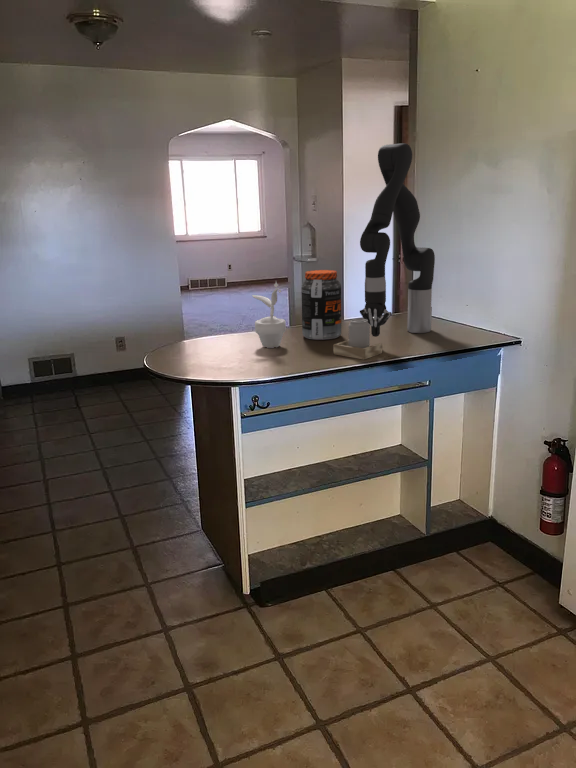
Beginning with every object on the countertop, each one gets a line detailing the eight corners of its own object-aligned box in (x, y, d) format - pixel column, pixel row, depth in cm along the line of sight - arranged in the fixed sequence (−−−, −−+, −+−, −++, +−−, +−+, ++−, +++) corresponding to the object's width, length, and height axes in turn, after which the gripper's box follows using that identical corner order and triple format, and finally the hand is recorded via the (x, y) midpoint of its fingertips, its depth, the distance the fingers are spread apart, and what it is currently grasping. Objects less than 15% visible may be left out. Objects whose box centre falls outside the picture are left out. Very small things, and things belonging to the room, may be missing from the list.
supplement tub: (331, 342, 243) (329, 274, 236) (295, 339, 251) (293, 273, 243) (348, 333, 256) (347, 269, 249) (313, 330, 264) (312, 268, 256)
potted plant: (291, 343, 243) (289, 278, 236) (278, 351, 233) (275, 283, 226) (262, 341, 248) (259, 277, 241) (248, 348, 238) (244, 282, 231)
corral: (351, 347, 234) (351, 338, 233) (381, 353, 225) (382, 343, 224) (333, 354, 226) (333, 344, 225) (364, 359, 217) (364, 349, 216)
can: (368, 355, 222) (368, 322, 218) (346, 355, 224) (346, 321, 220) (370, 350, 229) (371, 318, 225) (350, 350, 231) (350, 317, 227)
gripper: (396, 288, 225) (396, 336, 230) (366, 286, 234) (366, 332, 239) (384, 292, 220) (385, 340, 225) (354, 289, 228) (354, 336, 234)
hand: (375, 336), depth 232 cm, fingers closed
